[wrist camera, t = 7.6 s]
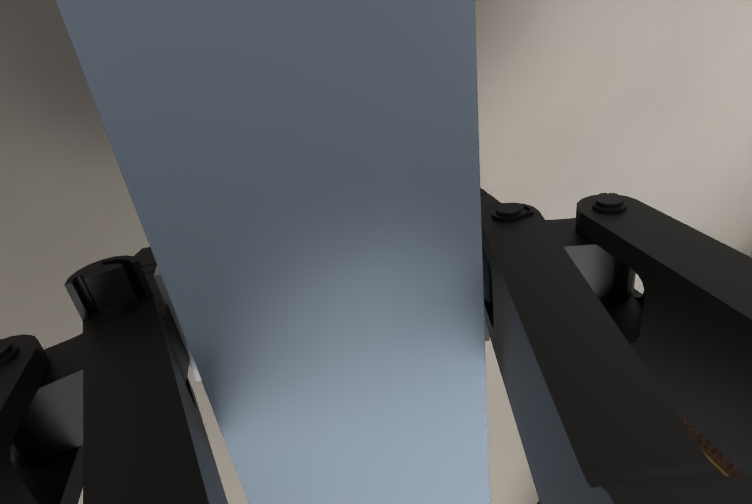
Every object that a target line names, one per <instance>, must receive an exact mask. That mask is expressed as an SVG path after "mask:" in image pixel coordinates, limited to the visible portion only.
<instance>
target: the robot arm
mask: <svg viewBox="0 0 752 504" xmlns="http://www.w3.org/2000/svg"><path fill="white" fill-rule="evenodd" d="M480 198H481V230H482V262H483V295H484V327H485V341H489V338H491V342H492V345H493V348H494V352H495V355H496V358H497V362H498V365H499V368H500V372H501V375H502V378H503V381H504V385H505V388H506V391H507V395H508V398H509V401H510V405H511V408H512V411H513V415H514V418H515V421H516V425H517V428H518V431H519V434H520V438H521V441H522V444H523V448H524V451H525V454H526V458H527V461H528V464H529V468H530V471H531V474H532V478H533V481H534V484H535V487H536V491H537V494H538V497H539V501H540V504H752V258H751V257H749V256H747V255H745V254H743V253H741V252H739V251H737V250H735V249H733V248H731V247H729V246H727V245H725V244H723V243H721V242H719V241H717V240H715V239H713V238H711V237H709V236H707V235H705V234H703V233H701V232H699V231H697V230H696V229H694V228H692V227H690V226H688V225H686V224H684V223H682V222H680V221H678V220H676V219H674V218H672V217H670V216H668V215H666V214H664V213H662V212H660V211H658V210H656V209H654V208H652V207H650V206H648V205H646V204H644V203H642V202H640V201H638V200H636V199H633V198H630V197H627V196H622V195H618V194H616V193H609V194H607V193H601V194H599V195H593V196H589V197H586V198H583V199H581V200H580V201H579V202H578V203H577V210H576V218H571V219H558V220H545V219H544V218H543V216H542V215H541V213H540V212H539V211H538V210H537V209H536V208H534V207H532V206H530V205H526V204H520V203H500V202H499V201H498V200H496V199H495V198H494V197H492V196H491V195H490V194H487V192H486V191H485V190H483V189H481V188H480ZM636 273H637V274H638V275H639V277H640V279H641V281H642V283H643V286H644V293H643V294H641V293H640V292H638V291H637V290H636V289H634V282H635V274H636ZM65 287H66V289H67V291H68V293H69V295H70V297H71V299H72V301H73V303H74V305H75V307H76V308H77V310H78V312H79V314H80V316H81V318H82V320H83V333H82V334H80V335H78V336H76V337H74V338H72V339H70V340H67V341H65V342H62V343H60V344H57V345H55V346H52V347H50V348H47V349H45V350H43V348H42V346H41V344H40V343H39V341H38V340H37V338H36V337H35V336H32V335H25V334H24V335H17V336H11V337H8V338H5V339H2V340H1V339H0V504H78V501H79V498H80V494H81V491H82V488H83V504H228V502H227V499H226V496H225V492H224V489H223V486H222V483H221V479H220V476H219V473H218V470H217V466H216V463H215V460H214V457H213V453H212V450H211V447H210V444H209V440H208V437H207V434H206V431H205V427H204V424H203V421H202V417H201V414H200V411H199V408H198V404H197V401H196V398H195V395H194V392H193V389H192V387H191V385H190V382H189V380H188V377H187V375H188V368H189V364H190V366H191V369H192V371H193V374H194V376H195V379H196V381H197V382H198V381H202V380H201V377H200V375H199V372H198V370H197V367H196V364H195V362H194V359H193V357H192V354H191V351H190V349H189V346H188V344H187V341H186V338H185V336H184V333H183V331H182V328H181V325H180V323H179V320H178V318H177V315H176V312H175V310H174V307H173V305H172V302H171V299H170V297H169V294H168V292H167V289H166V286H165V284H164V281H163V279H162V276H161V273H160V271H159V268H158V266H157V263H156V260H155V258H154V255H153V253H152V250H151V247H148V248H143V249H141V250H140V251H139V252H138V253H137V254H136V255H135V256H133V257H132V256H115V257H111V258H107V259H103V260H100V261H97V262H95V263H92V264H90V265H87V266H85V267H84V268H82V269H80V270H78V271H76V272H75V273H74V274H73V275H72V276H70V277H69V278H68V279H67V281H66V283H65ZM672 406H673V407H674V408H675V409H676V410H677V411H678V412H680V413H681V414H682V415H683V416H684V417H685V418H686V419H687V420H688V421H689V422H690V423H691V424H692V425H693V426H694V427H695V428H696V429H697V430H699V431H700V432H701V433H702V434H703V435H704V436H705V437H706V438H707V439H708V440H709V441H710V442H711V443H712V444H713V445H714V446H715V447H716V448H717V449H719V450H720V451H721V452H722V453H723V454H724V455H725V456H726V457H727V458H728V459H729V460H730V461H731V462H732V463H733V464H734V465H735V466H736V467H738V468H739V469H740V470H741V471H742V472H743V473H744V474H745V475H740V476H727V477H726V476H724V475H722V474H721V473H719V472H718V471H717V470H716V469H715V467H714V466H713V465H712V464H711V463H710V461H709V460H708V458H707V457H706V455H705V454H704V452H703V451H702V449H701V448H700V446H699V445H698V444H697V442H696V441H695V439H694V438H693V436H692V435H691V433H690V432H689V430H688V429H687V427H686V426H685V424H684V423H683V422H682V420H681V419H680V417H679V416H678V414H677V413H676V411H675V410H674V408H673V407H672Z"/></svg>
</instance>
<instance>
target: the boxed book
mask: <svg viewBox="0 0 752 504" xmlns="http://www.w3.org/2000/svg"><path fill="white" fill-rule="evenodd" d="M56 3H57V6H58V8H59V11H60V13H61V16H62V19H63V21H64V24H65V26H66V29H67V32H68V34H69V37H70V39H71V42H72V45H73V47H74V50H75V52H76V55H77V58H78V60H79V63H80V65H81V68H82V71H83V73H84V76H85V78H86V81H87V84H88V86H89V89H90V91H91V94H92V97H93V99H94V102H95V104H96V107H97V110H98V112H99V115H100V117H101V120H102V123H103V125H104V128H105V130H106V133H107V136H108V138H109V141H110V143H111V146H112V149H113V151H114V154H115V156H116V159H117V162H118V164H119V167H120V169H121V172H122V175H123V177H124V180H125V182H126V185H127V188H128V190H129V193H130V195H131V198H132V201H133V203H134V206H135V208H136V211H137V214H138V216H139V219H140V221H141V224H142V227H143V229H144V232H145V234H146V237H147V240H148V242H149V245H150V247H151V250H152V253H153V255H154V258H155V260H156V263H157V266H158V268H159V271H160V273H161V276H162V279H163V281H164V284H165V286H166V289H167V292H168V294H169V297H170V299H171V302H172V305H173V307H174V310H175V312H176V315H177V318H178V320H179V323H180V325H181V328H182V331H183V333H184V336H185V338H186V341H187V344H188V346H189V349H190V351H191V354H192V357H193V359H194V362H195V364H196V367H197V370H198V372H199V375H200V377H201V380H202V383H203V385H204V388H205V390H206V393H207V396H208V398H209V401H210V403H211V406H212V409H213V411H214V414H215V416H216V419H217V422H218V424H219V427H220V429H221V432H222V435H223V437H224V440H225V442H226V445H227V448H228V450H229V453H230V455H231V458H232V461H233V463H234V466H235V468H236V471H237V474H238V476H239V479H240V481H241V484H242V487H243V489H244V492H245V494H246V497H247V500H248V502H249V504H490V489H489V457H488V424H487V392H486V359H485V327H484V295H483V262H482V230H481V198H480V165H479V133H478V100H477V68H476V36H475V3H474V0H56Z"/></svg>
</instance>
